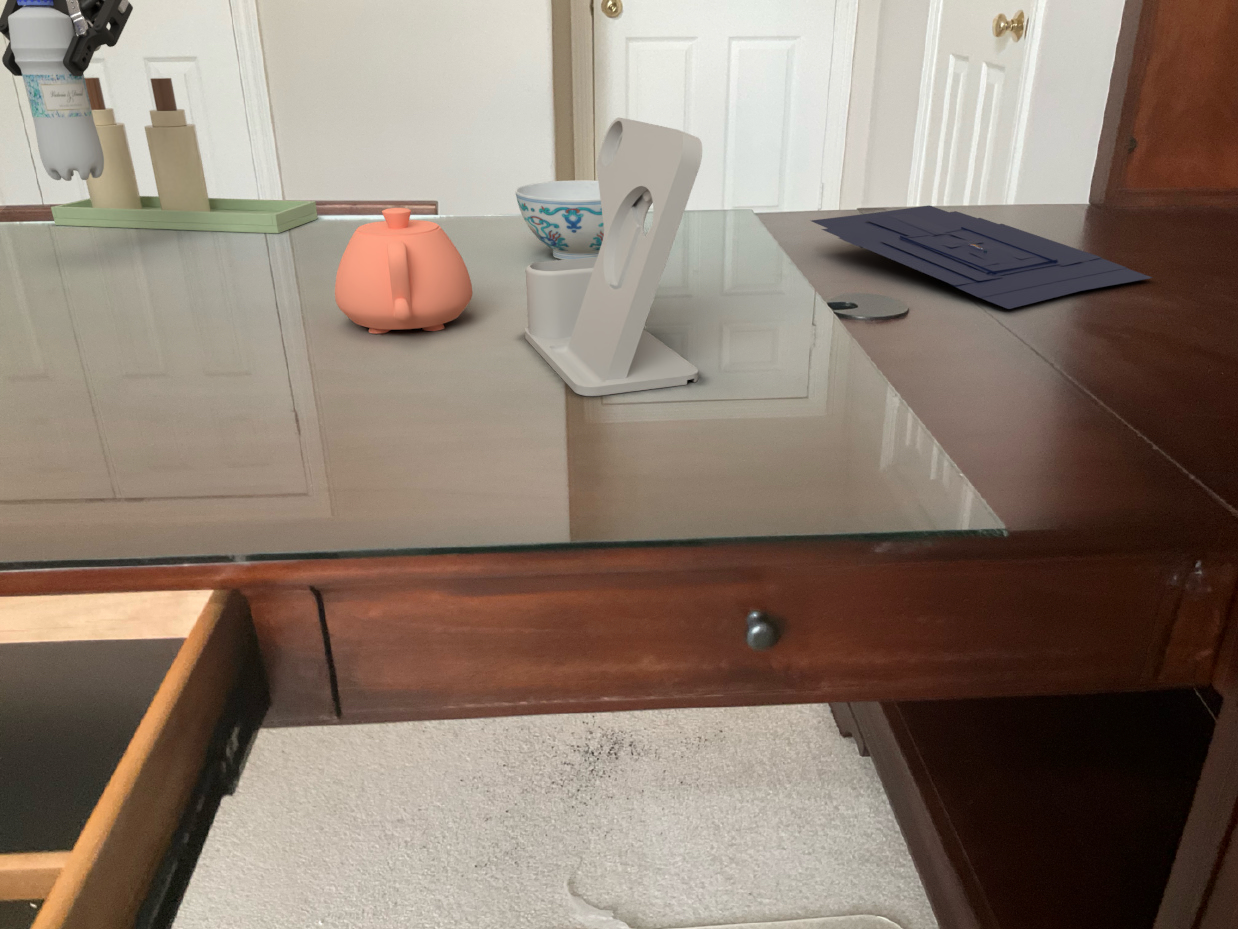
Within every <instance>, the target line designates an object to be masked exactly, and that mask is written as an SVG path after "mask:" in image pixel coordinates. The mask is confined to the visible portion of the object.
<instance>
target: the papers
mask: <svg viewBox="0 0 1238 929" xmlns="http://www.w3.org/2000/svg"><path fill="white" fill-rule="evenodd" d="M810 222H811V223H814V224H816V225H819V226H822V227H824V228H821V230H822V231H824V232H826V233H829V234H830V235H832V236H833V235H834V236H835V237H838V239H839V240H842V241H844V242H847V243H849V244H851V245H854V246H855V247H858V248H859V249H860V248H861V249H866V250H868V251H871V252H873V253H876V254H878V255H880V256H882V257H885V258H887V259H890V260H892V261H895V262H897V263H899V264H902V265H904V266H907V267H909V268H911V269H914V270H916V271H918V272H921V273H922V274H923V273H924V274H926V275H929V276H930V277H933V278H936V279H937V280H940V281H943V282H945V283H948V284H949V285H950V286H952V287H955V288H957V289H959V290H961V291H963V292H966V293H968V294H970V295H972V296H975V297H977V298H979V299H982V300H984V301H987V302H989V303H992V304H994V305H998V306H1000V307H1003V308H1005V309H1008V310H1011V309H1014V308H1015V309H1016V308H1019V307H1022V306H1027V305H1031V304H1035V303H1038V302H1042V301H1046V300H1050V299H1053V298H1054V299H1055V298H1058V297H1062V296H1066V295H1070V294H1073V293H1078V292H1081V291H1088V290H1094V289H1099V288H1104V287H1109V286H1115V285H1121V284H1127V283H1133V282H1138V281H1145V280H1149V279H1153V277H1152V276H1150V275H1147V274H1144V273H1141V272H1138V271H1136V270H1133V269H1130V268H1128V267H1127V266H1124V265H1122V264H1118V263H1116V262H1113V261H1110V260H1109V259H1108V260H1107V259H1106V258H1102V256H1100V255H1097V254H1093V253H1090V252H1087V251H1085V250H1081V249H1079V248H1075V247H1072V246H1069V245H1066V244H1063V243H1061V242H1057V241H1054V240H1053V239H1049V238H1046V237H1043V236H1040V235H1038V234H1034V233H1031V232H1028V231H1025V230H1022V229H1019V228H1016V227H1013V226H1010V225H1007V224H1004V223H997V222H993V221H992V220H991V221H990V220H988V219H985V218H983V217H975V216H972V215H969V214H966V213H963V212H961V211H960V212H959V211H956V210H955V211H947V210H944V209H941V208H938V207H935V206H932V205H929V204H928V205H922V206H914V207H908V208H901V209H893V210H892V209H891V210H885V211H878V212H871V213H861V214H853V215H845V216H837V217H836V216H835V217H830V218H829V217H828V218H821V219H812V220H810Z"/></svg>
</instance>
